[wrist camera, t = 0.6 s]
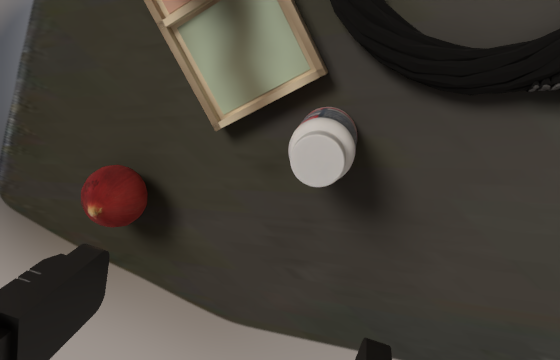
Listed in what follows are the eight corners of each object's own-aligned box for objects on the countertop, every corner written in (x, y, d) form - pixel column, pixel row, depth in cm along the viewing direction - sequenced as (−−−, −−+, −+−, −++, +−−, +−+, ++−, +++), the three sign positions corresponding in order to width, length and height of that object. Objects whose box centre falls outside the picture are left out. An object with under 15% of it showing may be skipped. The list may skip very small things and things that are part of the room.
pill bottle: (320, 94, 39) (307, 109, 31) (369, 127, 39) (369, 151, 31) (288, 142, 41) (268, 169, 32) (335, 174, 41) (327, 208, 33)
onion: (107, 203, 46) (57, 234, 39) (109, 151, 44) (57, 173, 37) (159, 215, 46) (118, 250, 38) (163, 163, 44) (121, 189, 36)
